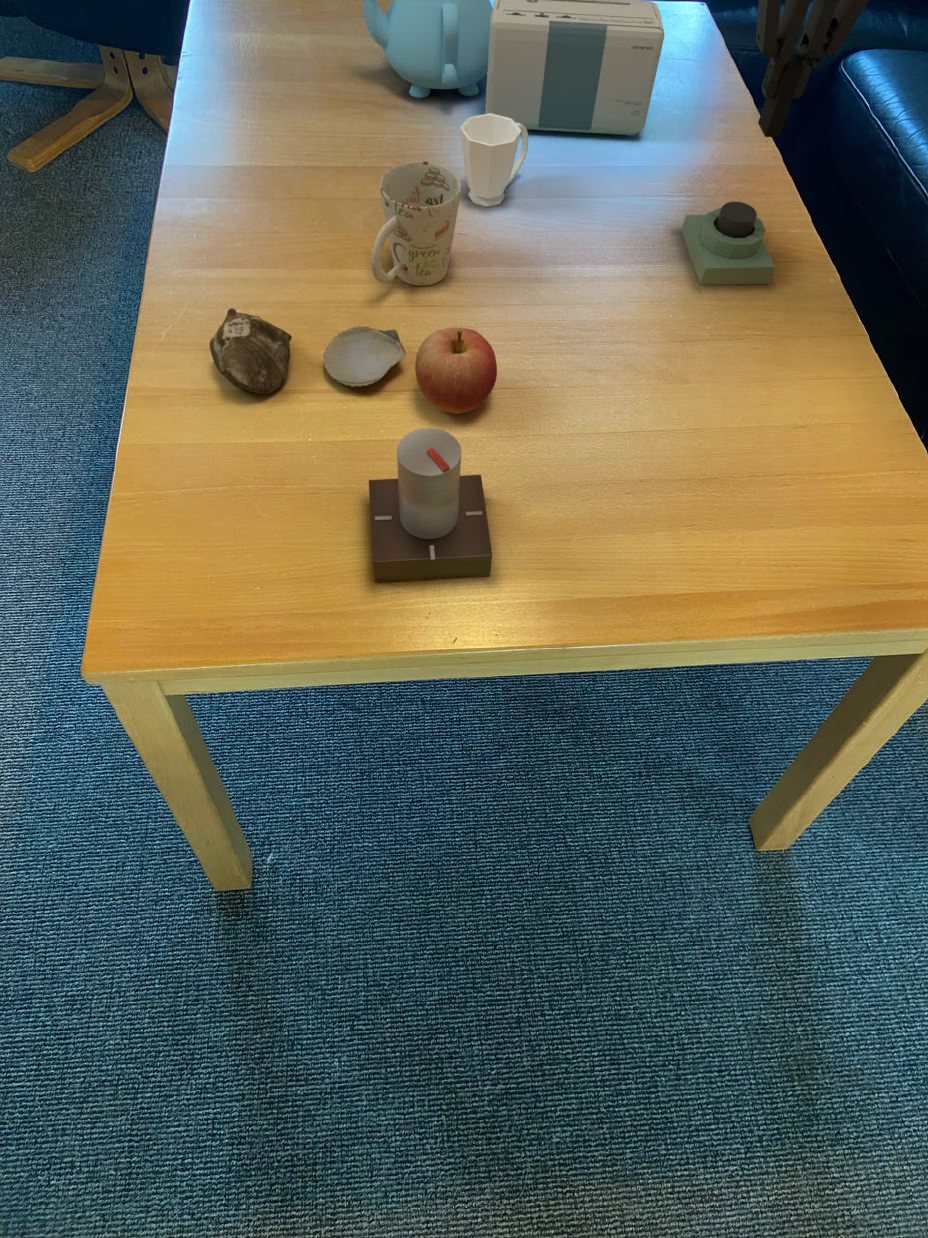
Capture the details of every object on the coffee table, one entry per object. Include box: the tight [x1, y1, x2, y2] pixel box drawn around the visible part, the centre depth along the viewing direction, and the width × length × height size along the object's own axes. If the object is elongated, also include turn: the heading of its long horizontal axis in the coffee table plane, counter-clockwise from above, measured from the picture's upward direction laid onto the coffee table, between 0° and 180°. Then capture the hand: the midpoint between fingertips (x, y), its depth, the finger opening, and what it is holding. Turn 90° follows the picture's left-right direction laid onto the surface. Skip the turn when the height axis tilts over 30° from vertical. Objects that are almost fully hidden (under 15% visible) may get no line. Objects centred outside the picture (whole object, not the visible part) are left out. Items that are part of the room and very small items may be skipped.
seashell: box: [323, 326, 407, 388], centre depth 84 cm, size 8×3×8 cm
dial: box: [396, 427, 462, 539], centre depth 68 cm, size 5×5×8 cm
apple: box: [414, 326, 498, 414], centre depth 80 cm, size 8×8×8 cm
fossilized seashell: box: [209, 308, 293, 394], centre depth 82 cm, size 8×7×10 cm
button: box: [716, 201, 758, 238], centre depth 93 cm, size 4×4×2 cm
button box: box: [680, 207, 776, 286], centre depth 95 cm, size 10×8×4 cm
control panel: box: [368, 474, 493, 583], centre depth 72 cm, size 10×9×3 cm
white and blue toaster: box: [484, 0, 665, 137], centre depth 103 cm, size 21×8×20 cm, turn 88°
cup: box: [459, 113, 529, 208], centre depth 99 cm, size 7×10×8 cm
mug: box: [370, 160, 462, 287], centre depth 88 cm, size 8×13×10 cm, turn 148°
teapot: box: [362, 0, 493, 99], centre depth 110 cm, size 16×20×14 cm
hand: (768, 129), depth 84 cm, fingers closed
